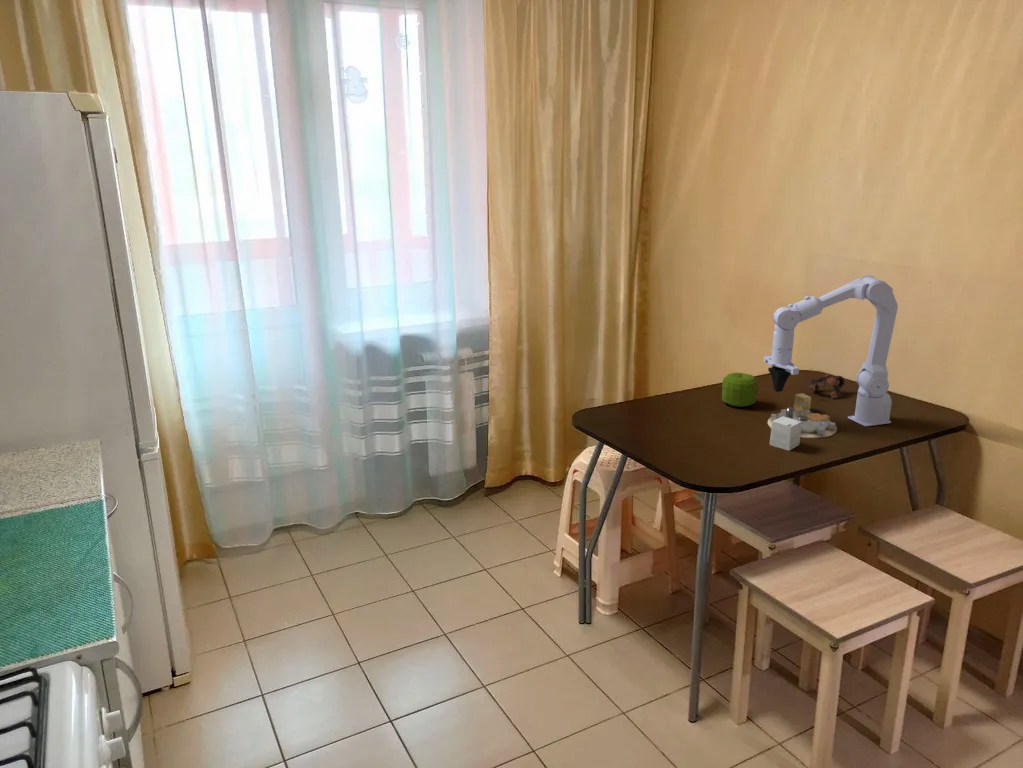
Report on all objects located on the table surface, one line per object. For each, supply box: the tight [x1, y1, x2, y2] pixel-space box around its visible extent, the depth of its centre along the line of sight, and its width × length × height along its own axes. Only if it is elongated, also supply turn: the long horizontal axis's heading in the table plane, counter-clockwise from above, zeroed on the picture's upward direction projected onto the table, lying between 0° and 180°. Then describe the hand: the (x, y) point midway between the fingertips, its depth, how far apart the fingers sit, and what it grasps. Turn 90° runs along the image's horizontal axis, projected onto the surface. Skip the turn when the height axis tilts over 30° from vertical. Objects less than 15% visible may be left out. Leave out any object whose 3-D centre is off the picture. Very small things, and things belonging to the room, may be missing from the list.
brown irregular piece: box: [808, 373, 846, 399], centre depth 252 cm, size 12×10×8 cm
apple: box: [721, 372, 759, 408], centre depth 242 cm, size 11×11×11 cm
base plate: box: [767, 416, 838, 439], centre depth 225 cm, size 20×20×1 cm
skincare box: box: [769, 416, 802, 451], centre depth 210 cm, size 6×6×7 cm
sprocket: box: [770, 406, 836, 435], centre depth 224 cm, size 18×18×6 cm
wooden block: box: [793, 393, 812, 411], centre depth 237 cm, size 4×3×5 cm
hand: (778, 390), depth 227 cm, fingers closed
